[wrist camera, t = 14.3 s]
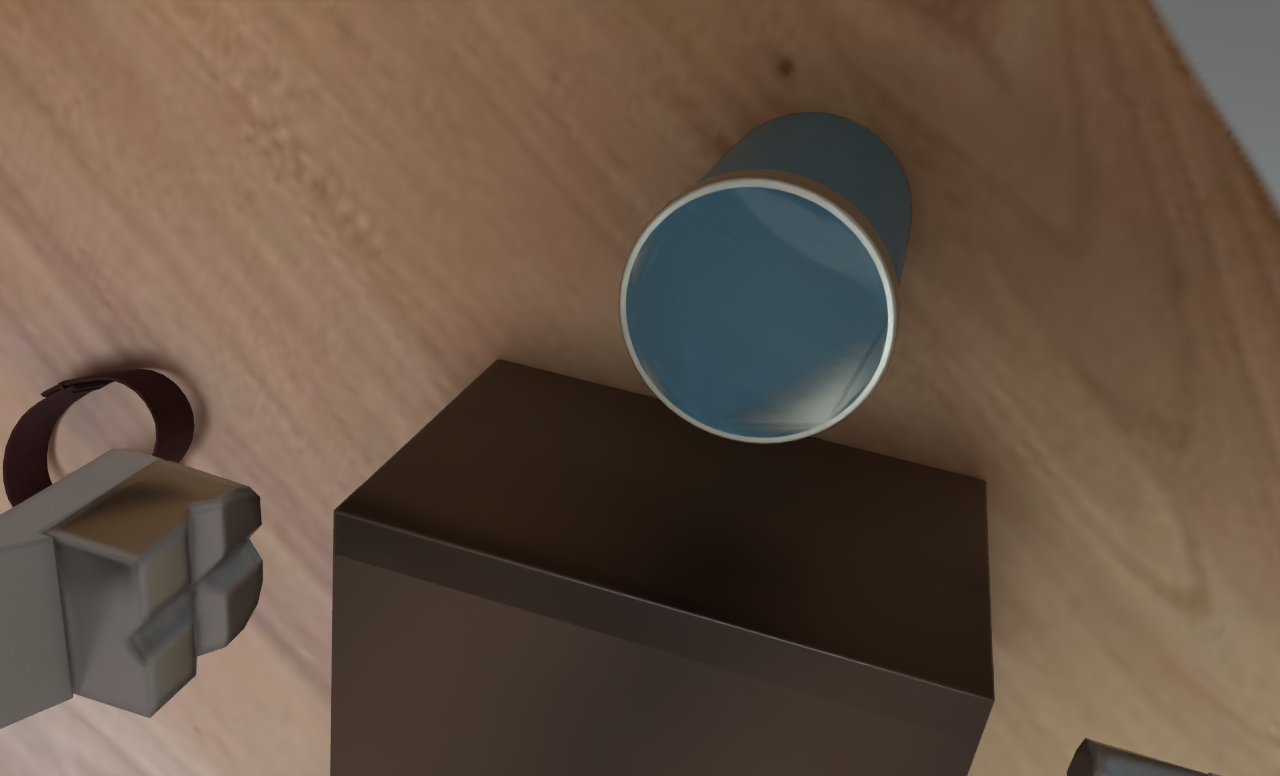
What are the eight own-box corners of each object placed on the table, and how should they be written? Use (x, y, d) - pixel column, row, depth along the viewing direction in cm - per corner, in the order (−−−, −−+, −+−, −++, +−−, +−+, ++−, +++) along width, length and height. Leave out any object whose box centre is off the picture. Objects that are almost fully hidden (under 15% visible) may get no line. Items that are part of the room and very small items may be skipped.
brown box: (986, 480, 28) (995, 699, 20) (880, 807, 33) (854, 1084, 25) (496, 358, 31) (332, 510, 23) (469, 679, 36) (328, 893, 28)
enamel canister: (940, 129, 25) (930, 211, 18) (888, 331, 27) (860, 474, 20) (726, 89, 26) (637, 151, 19) (692, 287, 28) (601, 409, 21)
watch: (98, 524, 38) (18, 580, 35) (15, 415, 37) (-75, 461, 34) (241, 446, 35) (168, 499, 31) (154, 323, 34) (69, 366, 30)
